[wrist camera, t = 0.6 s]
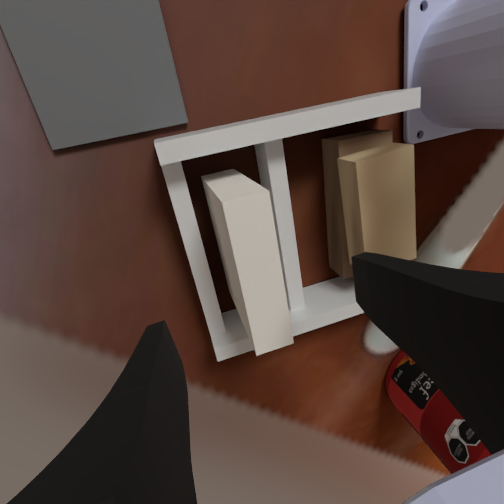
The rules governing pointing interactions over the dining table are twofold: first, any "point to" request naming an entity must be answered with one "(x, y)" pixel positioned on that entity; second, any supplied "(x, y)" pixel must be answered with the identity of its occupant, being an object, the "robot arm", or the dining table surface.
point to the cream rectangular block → (250, 256)
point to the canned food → (432, 415)
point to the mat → (94, 67)
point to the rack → (275, 180)
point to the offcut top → (379, 200)
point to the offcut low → (333, 197)
